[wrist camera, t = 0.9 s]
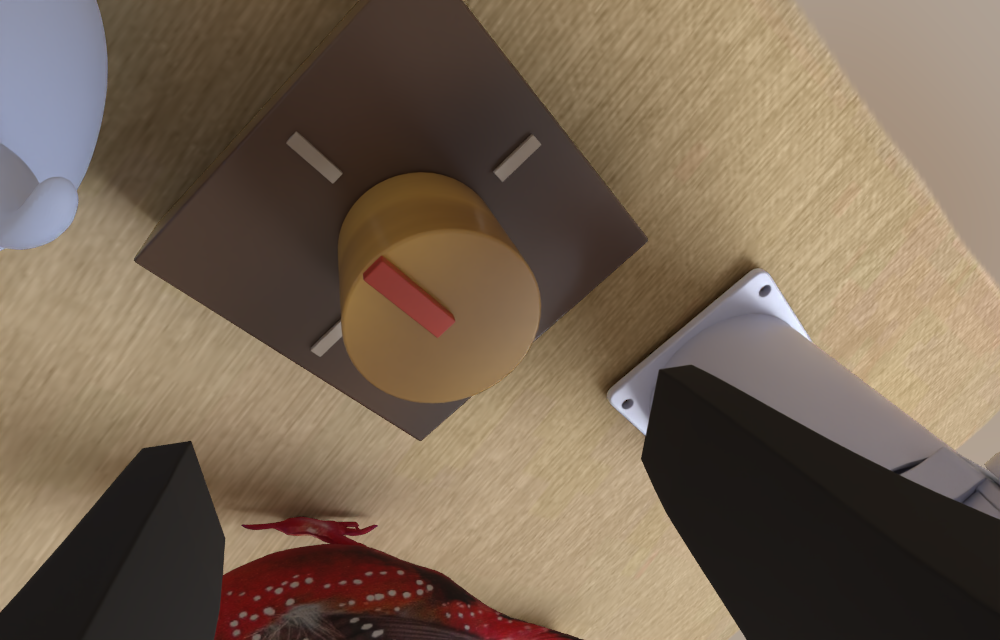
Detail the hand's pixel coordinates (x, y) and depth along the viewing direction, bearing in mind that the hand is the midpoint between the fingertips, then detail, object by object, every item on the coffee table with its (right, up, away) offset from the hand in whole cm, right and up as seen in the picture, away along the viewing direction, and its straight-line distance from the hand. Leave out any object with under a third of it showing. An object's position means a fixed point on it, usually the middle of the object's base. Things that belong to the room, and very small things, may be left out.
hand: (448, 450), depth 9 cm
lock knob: (-1, +4, +7) cm, 8 cm away
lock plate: (-2, +5, +9) cm, 10 cm away
